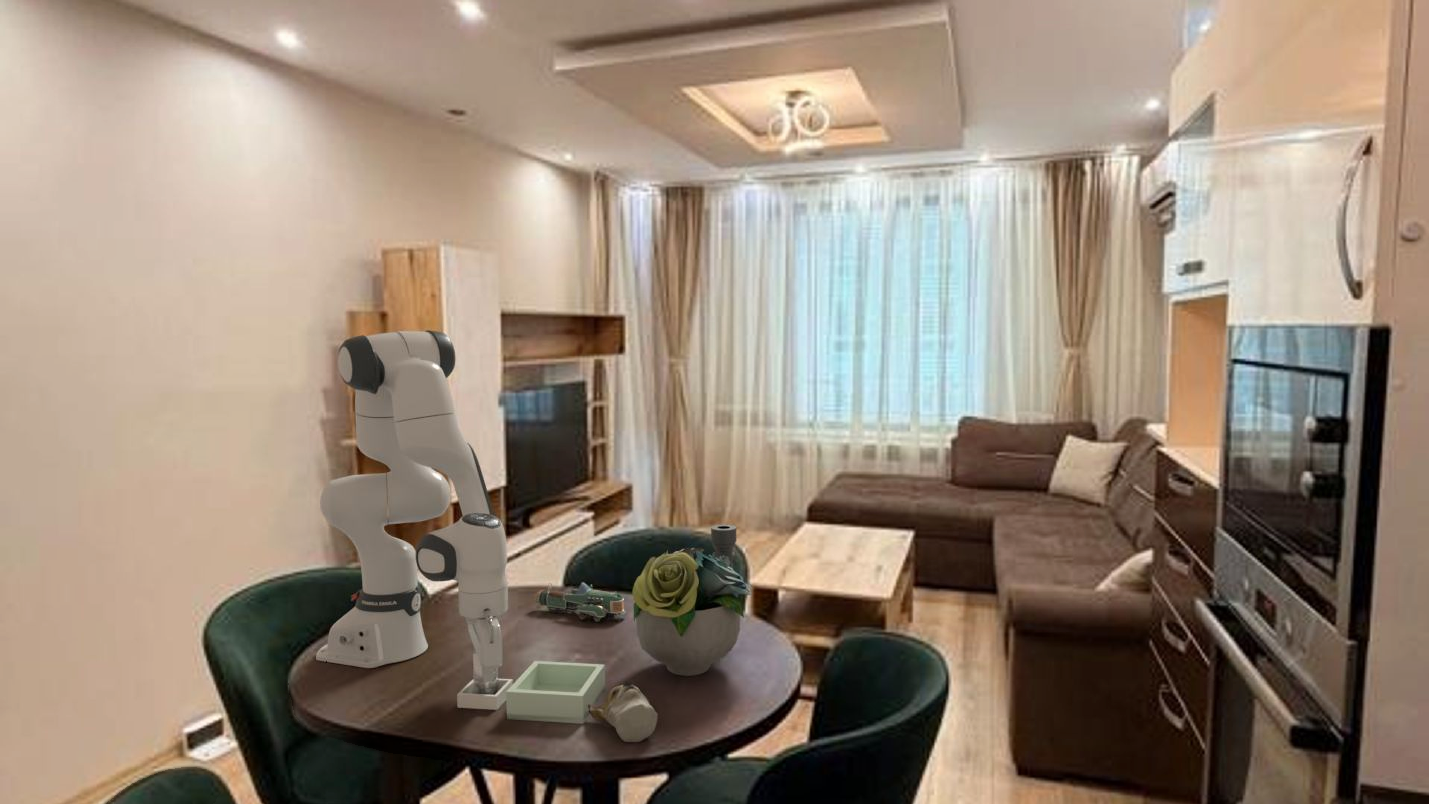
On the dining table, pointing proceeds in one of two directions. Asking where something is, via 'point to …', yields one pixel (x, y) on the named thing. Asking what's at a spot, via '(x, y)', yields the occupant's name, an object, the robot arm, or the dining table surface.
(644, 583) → the flower arrangement
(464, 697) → the socket collar
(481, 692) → the clear glass cylinder
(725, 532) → the candle holder
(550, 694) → the tray
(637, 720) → the ceramic sculpture
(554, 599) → the green metal elongated vehicle
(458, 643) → the dining table surface
